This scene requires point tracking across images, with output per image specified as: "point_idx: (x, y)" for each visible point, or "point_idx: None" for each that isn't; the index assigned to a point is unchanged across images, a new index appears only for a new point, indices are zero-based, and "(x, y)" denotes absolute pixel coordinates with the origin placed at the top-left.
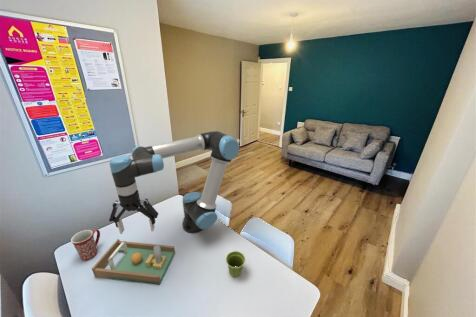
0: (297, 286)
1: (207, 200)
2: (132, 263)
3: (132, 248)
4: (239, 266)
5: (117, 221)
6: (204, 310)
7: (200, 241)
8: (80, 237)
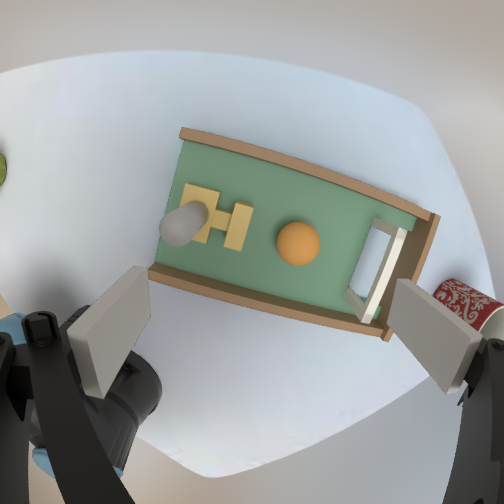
0: None
1: None
2: None
3: (329, 306)
4: None
5: (478, 351)
6: (66, 61)
7: (82, 301)
8: (489, 338)
